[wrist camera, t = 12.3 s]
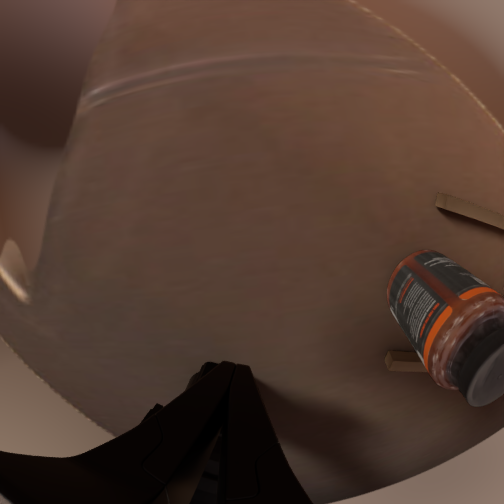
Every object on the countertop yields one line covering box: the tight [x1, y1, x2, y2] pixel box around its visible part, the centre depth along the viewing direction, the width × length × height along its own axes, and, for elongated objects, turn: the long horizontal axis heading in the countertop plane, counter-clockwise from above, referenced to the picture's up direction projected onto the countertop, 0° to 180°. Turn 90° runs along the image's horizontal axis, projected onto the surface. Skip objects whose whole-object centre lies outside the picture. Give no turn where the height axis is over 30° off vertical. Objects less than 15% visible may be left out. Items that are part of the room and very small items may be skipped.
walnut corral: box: [384, 192, 504, 372], centre depth 18 cm, size 14×13×2 cm
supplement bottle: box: [387, 250, 504, 407], centre depth 14 cm, size 6×6×11 cm
